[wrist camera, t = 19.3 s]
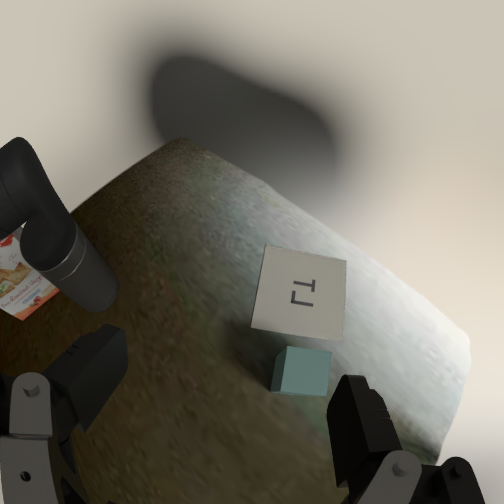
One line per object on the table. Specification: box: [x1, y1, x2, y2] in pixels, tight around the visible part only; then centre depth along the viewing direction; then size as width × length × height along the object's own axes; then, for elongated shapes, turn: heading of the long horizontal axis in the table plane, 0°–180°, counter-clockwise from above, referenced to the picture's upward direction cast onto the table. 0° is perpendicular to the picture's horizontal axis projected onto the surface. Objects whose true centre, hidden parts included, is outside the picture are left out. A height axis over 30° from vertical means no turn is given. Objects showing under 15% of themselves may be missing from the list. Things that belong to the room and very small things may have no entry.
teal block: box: [270, 346, 332, 396], centre depth 36 cm, size 6×6×10 cm
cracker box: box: [0, 226, 60, 321], centre depth 34 cm, size 14×6×21 cm, turn 131°
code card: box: [251, 245, 346, 342], centre depth 48 cm, size 16×16×1 cm
